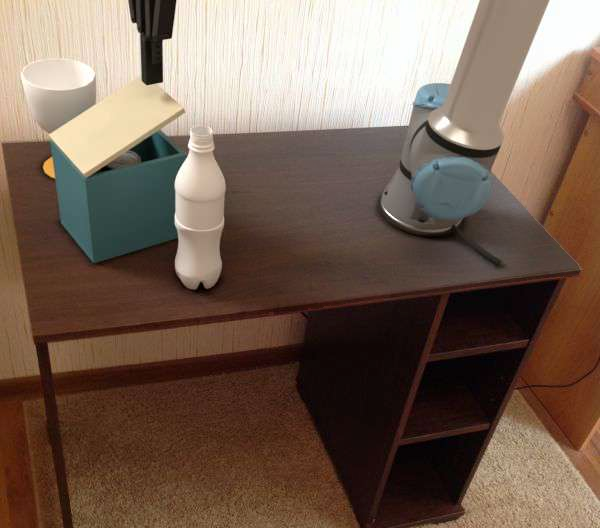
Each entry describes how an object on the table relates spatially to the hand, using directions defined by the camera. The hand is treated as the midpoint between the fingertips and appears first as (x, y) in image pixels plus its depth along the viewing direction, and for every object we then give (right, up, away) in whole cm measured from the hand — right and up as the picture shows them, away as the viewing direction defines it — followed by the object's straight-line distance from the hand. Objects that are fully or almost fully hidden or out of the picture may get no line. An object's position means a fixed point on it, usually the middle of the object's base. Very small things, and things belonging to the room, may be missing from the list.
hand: (152, 81), depth 110 cm
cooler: (-8, -18, +15) cm, 25 cm away
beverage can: (-7, -18, +14) cm, 24 cm away
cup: (-20, -5, +25) cm, 32 cm away
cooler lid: (-5, -6, +1) cm, 8 cm away
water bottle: (+6, -28, +8) cm, 30 cm away
